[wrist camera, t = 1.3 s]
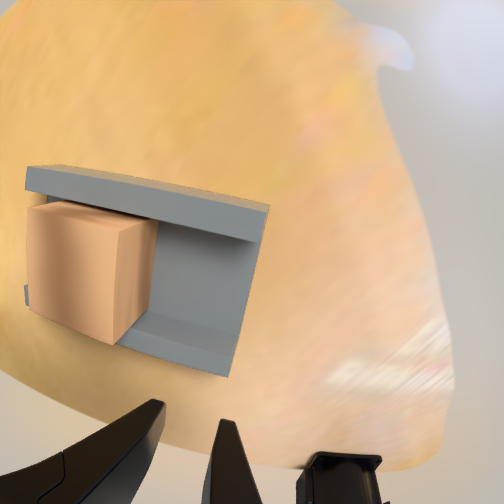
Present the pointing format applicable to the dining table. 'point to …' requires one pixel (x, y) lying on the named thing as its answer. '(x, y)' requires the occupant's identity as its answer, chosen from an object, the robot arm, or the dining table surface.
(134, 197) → the chute
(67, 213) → the block
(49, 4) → the dining table surface
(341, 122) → the dining table surface
